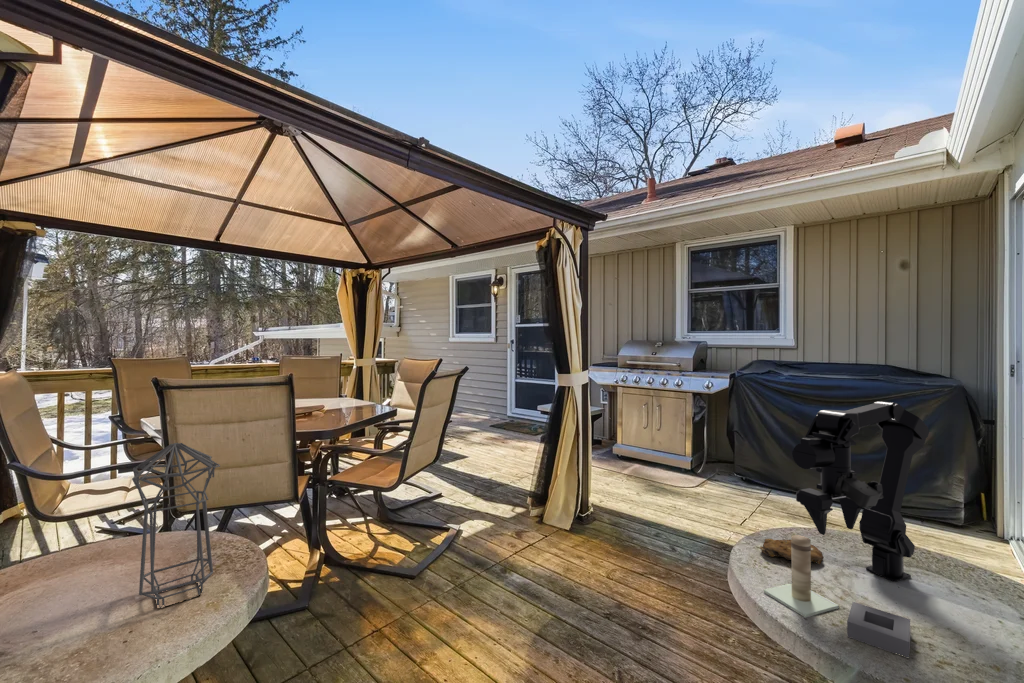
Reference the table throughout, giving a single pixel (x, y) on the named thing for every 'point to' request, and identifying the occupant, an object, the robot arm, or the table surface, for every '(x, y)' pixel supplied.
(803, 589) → the plug
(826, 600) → the mat
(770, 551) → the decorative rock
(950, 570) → the table surface
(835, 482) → the robot arm
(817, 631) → the table surface
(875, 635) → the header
